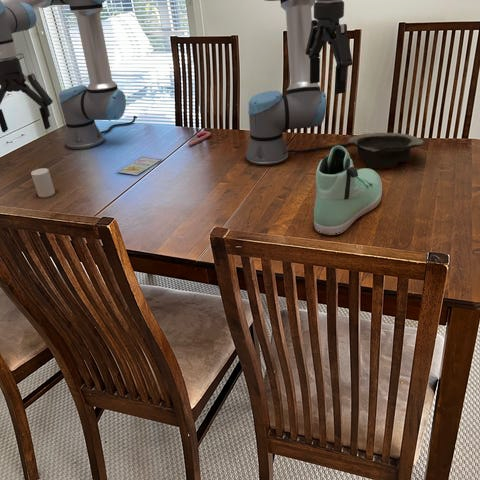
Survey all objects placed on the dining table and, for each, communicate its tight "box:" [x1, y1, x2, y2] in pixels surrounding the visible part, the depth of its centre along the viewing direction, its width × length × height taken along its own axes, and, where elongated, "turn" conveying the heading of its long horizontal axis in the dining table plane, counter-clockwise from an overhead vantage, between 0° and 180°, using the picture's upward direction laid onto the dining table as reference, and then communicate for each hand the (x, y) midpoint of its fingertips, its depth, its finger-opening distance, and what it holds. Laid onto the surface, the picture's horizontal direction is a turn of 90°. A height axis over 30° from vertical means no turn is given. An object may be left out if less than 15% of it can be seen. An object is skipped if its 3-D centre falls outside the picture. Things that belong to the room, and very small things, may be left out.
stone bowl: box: [347, 132, 426, 170], centre depth 165 cm, size 25×25×9 cm
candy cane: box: [188, 130, 212, 147], centre depth 198 cm, size 6×15×2 cm, turn 145°
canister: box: [30, 167, 56, 198], centre depth 161 cm, size 6×6×8 cm
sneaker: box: [313, 146, 383, 236], centre depth 133 cm, size 14×35×20 cm, turn 152°
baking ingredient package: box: [117, 157, 161, 176], centre depth 177 cm, size 9×1×15 cm
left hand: (26, 129), depth 151 cm, fingers open, 13 cm apart
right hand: (326, 87), depth 130 cm, fingers open, 13 cm apart
